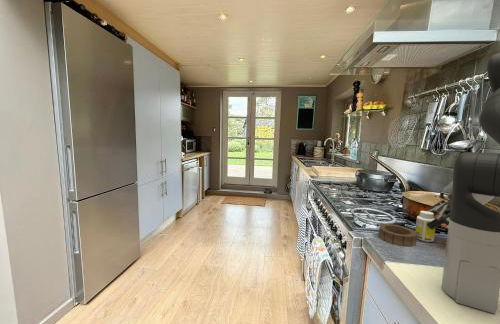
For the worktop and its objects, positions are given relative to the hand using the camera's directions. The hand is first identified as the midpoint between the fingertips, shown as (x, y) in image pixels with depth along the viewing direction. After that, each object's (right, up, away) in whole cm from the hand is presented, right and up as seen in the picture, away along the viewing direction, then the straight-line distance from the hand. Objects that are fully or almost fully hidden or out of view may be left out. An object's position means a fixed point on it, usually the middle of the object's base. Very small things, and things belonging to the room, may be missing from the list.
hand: (425, 223), depth 82 cm
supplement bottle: (0, -6, +1) cm, 6 cm away
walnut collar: (-11, -6, 0) cm, 12 cm away
